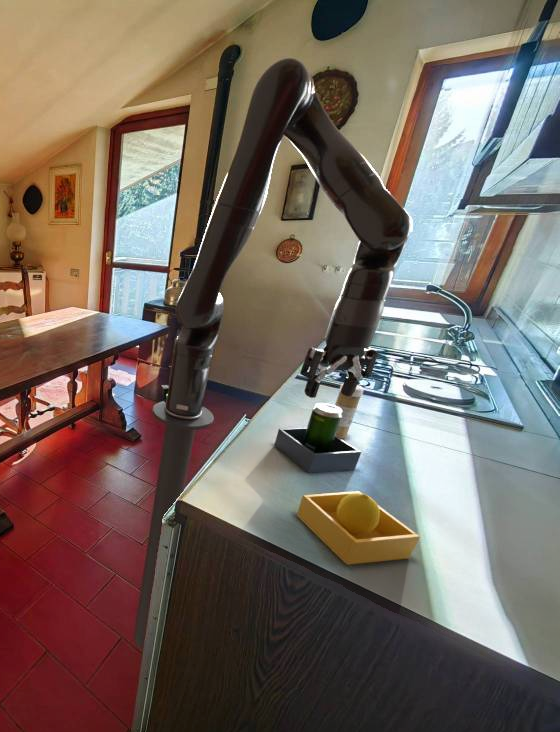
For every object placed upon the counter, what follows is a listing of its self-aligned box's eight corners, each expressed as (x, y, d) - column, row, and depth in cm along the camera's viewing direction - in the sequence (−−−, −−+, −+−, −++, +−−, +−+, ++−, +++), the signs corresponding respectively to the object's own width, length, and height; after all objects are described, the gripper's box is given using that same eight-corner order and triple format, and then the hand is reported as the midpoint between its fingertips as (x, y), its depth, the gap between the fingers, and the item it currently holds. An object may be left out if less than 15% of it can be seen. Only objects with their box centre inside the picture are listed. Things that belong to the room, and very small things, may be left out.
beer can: (320, 464, 86) (337, 415, 81) (295, 452, 90) (309, 406, 85) (331, 456, 88) (348, 409, 84) (306, 446, 92) (320, 400, 88)
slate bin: (273, 445, 94) (278, 428, 92) (316, 443, 95) (321, 426, 93) (308, 473, 83) (314, 454, 82) (354, 469, 85) (361, 451, 83)
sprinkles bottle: (334, 428, 102) (350, 381, 97) (351, 437, 98) (369, 388, 93) (320, 431, 100) (336, 383, 95) (337, 440, 96) (355, 390, 91)
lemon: (345, 518, 70) (360, 481, 67) (378, 540, 65) (395, 502, 62) (322, 524, 68) (336, 487, 65) (354, 548, 63) (370, 509, 60)
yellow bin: (296, 515, 71) (302, 495, 69) (350, 510, 73) (358, 490, 71) (346, 564, 61) (356, 542, 59) (409, 558, 62) (420, 536, 61)
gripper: (369, 316, 80) (343, 387, 87) (307, 316, 78) (285, 389, 85) (404, 325, 73) (373, 402, 80) (337, 325, 71) (310, 404, 78)
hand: (327, 395), depth 82 cm, fingers open, 8 cm apart
